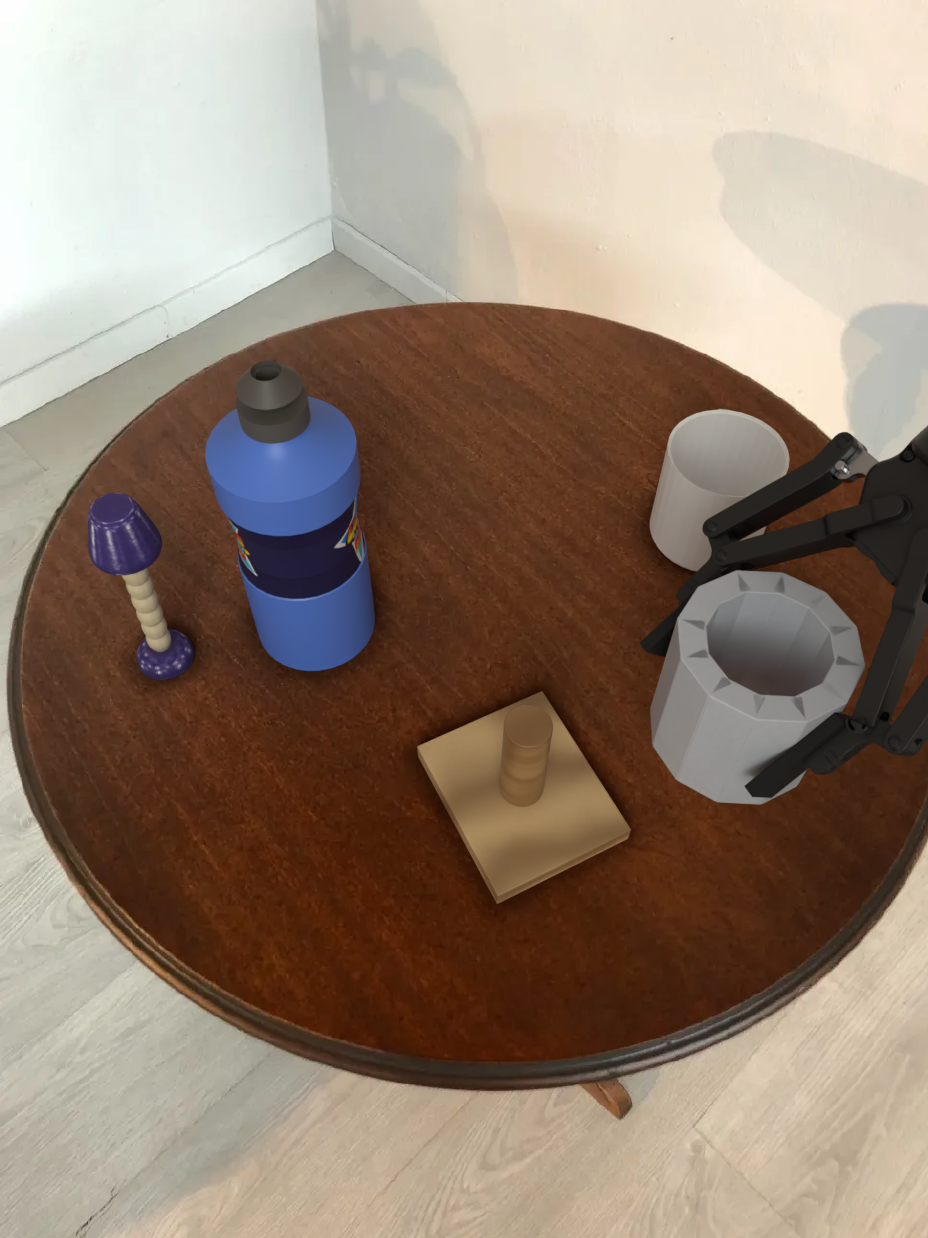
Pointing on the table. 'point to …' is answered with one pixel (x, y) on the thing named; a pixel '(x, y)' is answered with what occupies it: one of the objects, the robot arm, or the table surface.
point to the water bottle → (294, 518)
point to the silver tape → (750, 679)
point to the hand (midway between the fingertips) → (703, 718)
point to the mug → (711, 478)
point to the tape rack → (522, 795)
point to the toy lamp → (137, 579)
